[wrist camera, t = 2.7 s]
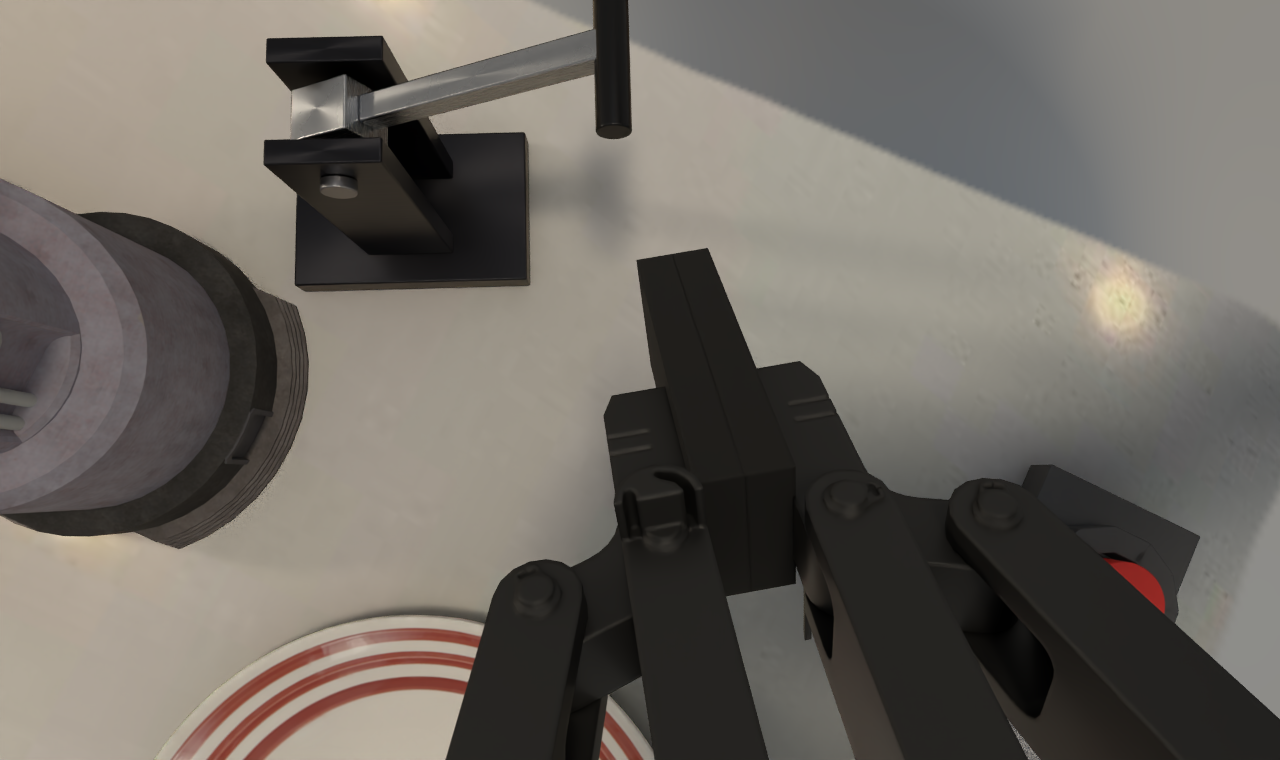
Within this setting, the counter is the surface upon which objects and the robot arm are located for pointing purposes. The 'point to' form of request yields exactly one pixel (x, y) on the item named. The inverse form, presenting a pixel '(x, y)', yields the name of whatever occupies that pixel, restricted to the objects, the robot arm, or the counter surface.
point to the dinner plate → (357, 698)
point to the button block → (1117, 527)
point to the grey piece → (136, 376)
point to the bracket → (398, 189)
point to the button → (1141, 581)
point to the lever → (480, 85)
